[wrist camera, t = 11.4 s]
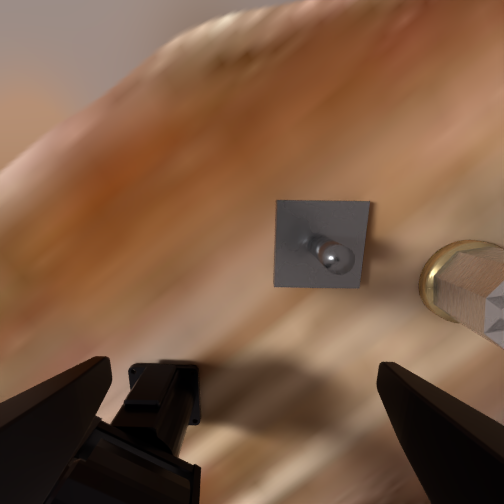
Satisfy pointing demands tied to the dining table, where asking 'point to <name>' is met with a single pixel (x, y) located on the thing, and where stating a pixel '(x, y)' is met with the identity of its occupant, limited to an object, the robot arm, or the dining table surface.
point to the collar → (474, 291)
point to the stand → (319, 243)
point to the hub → (436, 264)
